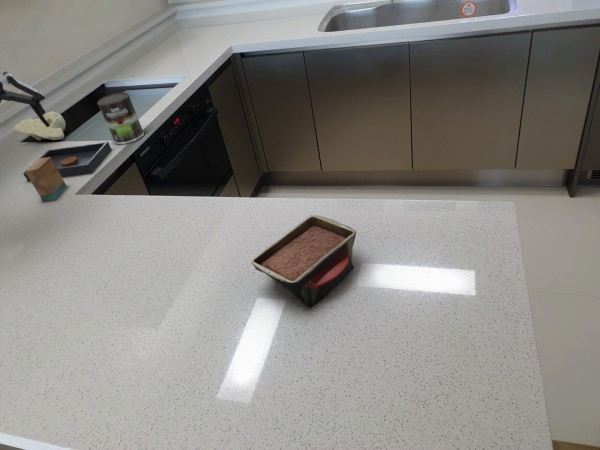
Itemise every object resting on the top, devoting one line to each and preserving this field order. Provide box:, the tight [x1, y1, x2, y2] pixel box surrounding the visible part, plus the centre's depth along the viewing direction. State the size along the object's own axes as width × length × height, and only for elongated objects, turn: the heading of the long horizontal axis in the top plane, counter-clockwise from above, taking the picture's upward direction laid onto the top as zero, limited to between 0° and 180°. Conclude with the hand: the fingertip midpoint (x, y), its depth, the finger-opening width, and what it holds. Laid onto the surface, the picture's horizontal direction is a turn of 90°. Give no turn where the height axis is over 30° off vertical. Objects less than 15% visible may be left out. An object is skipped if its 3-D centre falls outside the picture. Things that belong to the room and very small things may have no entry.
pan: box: [22, 141, 113, 183], centre depth 146 cm, size 22×16×3 cm
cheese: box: [13, 110, 67, 142], centre depth 169 cm, size 15×7×15 cm
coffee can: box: [96, 92, 145, 145], centre depth 154 cm, size 10×10×14 cm
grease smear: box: [61, 157, 78, 167], centre depth 146 cm, size 5×5×1 cm
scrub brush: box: [24, 157, 68, 202], centre depth 129 cm, size 4×7×10 cm, turn 177°
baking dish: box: [251, 214, 357, 309], centre depth 84 cm, size 14×18×10 cm
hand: (21, 138), depth 115 cm, fingers open, 13 cm apart
